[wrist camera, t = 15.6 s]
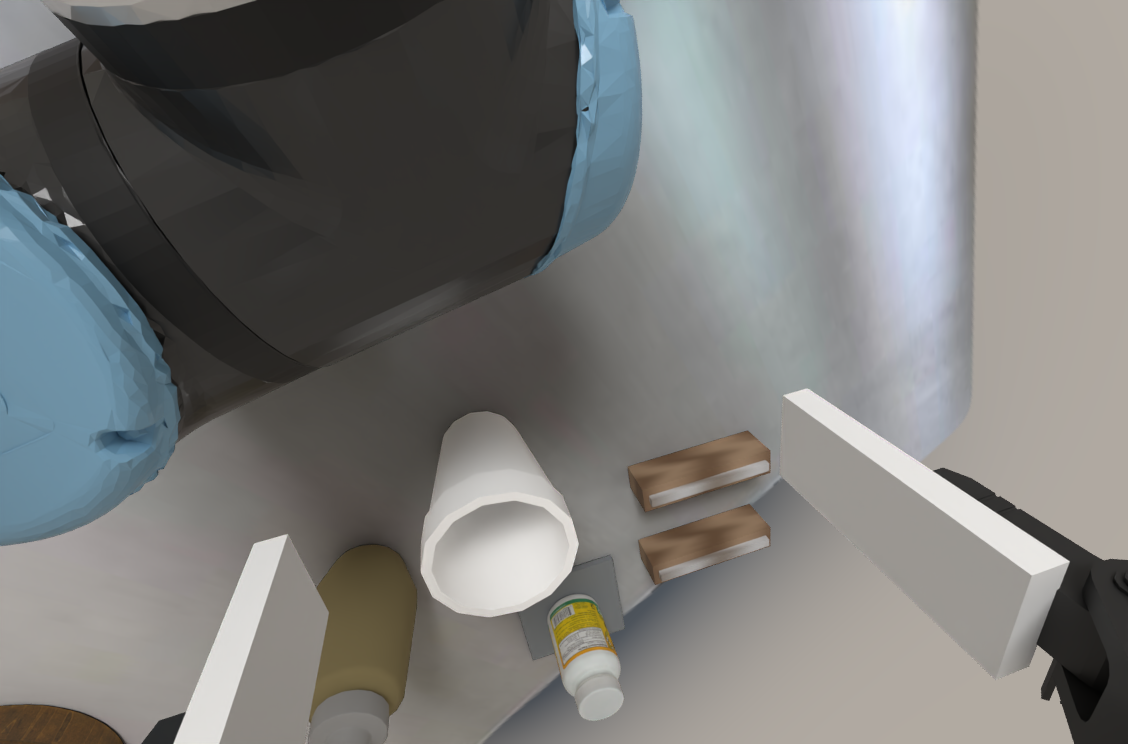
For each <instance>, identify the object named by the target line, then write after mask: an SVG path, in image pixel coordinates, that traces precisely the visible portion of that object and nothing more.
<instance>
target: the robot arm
mask: <svg viewBox="0 0 1128 744" xmlns="http://www.w3.org/2000/svg"><path fill="white" fill-rule="evenodd" d="M41 1H42V3H43V4H44V5H45V6H46V7H47V8H48V9H49V10H50V11H51V12H52V13H53V14H54V15H55V16H56V17H57V18H58V19H59V20H60V21H61V22H62V23H63V24H64V25H65V26H66V27H67V28H68V29H69V30H70V31H71V32H72V33H73V34H74V35H75V36H76V37H77V38H74V39H72V40H69V41H67V42H65V43H62V44H60V45H58V46H55V47H53V48H51V49H47V50H45V51H42V52H40V53H38V54H35V55H33V56H31V57H28V58H26V59H23V60H21V61H19V62H16V63H14V64H11V65H9V66H7V67H4V68H2V69H0V546H6V545H14V544H21V543H27V542H32V541H38V540H42V539H46V538H50V537H54V536H57V535H61V534H63V533H66V532H69V531H72V530H75V529H77V528H79V527H82V526H84V525H86V524H89V523H91V522H92V521H94V520H96V519H98V518H99V517H101V516H103V515H105V514H106V513H108V512H109V511H111V510H112V509H113V508H115V507H116V506H117V505H119V504H120V503H121V502H122V501H123V500H125V499H126V498H127V497H128V496H129V495H131V494H134V493H136V492H138V491H139V490H140V489H141V488H142V486H143V485H144V484H145V483H147V482H149V481H152V480H154V479H155V478H156V477H157V475H158V470H160V469H164V467H165V465H166V463H167V461H168V460H169V458H170V456H171V455H172V453H173V452H174V449H175V444H176V443H177V442H178V441H180V440H181V439H182V438H184V437H185V436H187V435H188V434H189V433H191V432H192V431H194V430H195V429H197V428H199V427H200V426H202V425H204V424H205V423H207V422H209V421H211V420H213V419H215V418H217V417H219V416H221V415H223V414H225V413H227V412H229V411H232V410H234V409H236V408H238V407H240V406H242V405H244V404H246V403H248V402H250V401H253V400H255V399H257V398H259V397H261V396H263V395H265V394H267V393H269V392H271V391H273V390H275V389H277V388H279V387H281V386H284V385H286V384H288V383H290V382H292V381H294V380H296V379H298V378H300V377H302V376H304V375H306V374H308V373H311V372H313V371H315V370H317V369H319V368H321V367H325V366H330V365H332V364H334V363H336V362H339V361H341V360H343V359H345V358H347V357H350V356H352V355H354V354H356V353H359V352H361V351H363V350H365V349H367V348H370V347H372V346H374V345H376V344H378V343H381V342H383V341H385V340H387V339H389V338H392V337H394V336H396V335H398V334H401V333H403V332H405V331H407V330H409V329H412V328H414V327H416V326H418V325H420V324H423V323H425V322H427V321H429V320H431V319H434V318H436V317H438V316H440V315H443V314H445V313H447V312H449V311H451V310H454V309H456V308H458V307H460V306H462V305H465V304H467V303H469V302H471V301H473V300H476V299H478V298H480V297H482V296H484V295H487V294H489V293H491V292H493V291H496V290H498V289H500V288H502V287H504V286H507V285H509V284H511V283H513V282H515V281H518V280H520V279H522V278H526V277H528V276H531V275H535V274H537V273H539V272H541V271H543V270H544V269H546V268H547V267H548V266H549V265H550V264H551V263H552V262H553V261H554V260H555V259H556V258H558V257H560V256H561V255H563V254H565V253H567V252H569V251H570V250H572V249H574V248H576V247H578V246H579V245H581V244H583V243H585V242H587V241H588V240H590V239H592V238H594V237H596V236H597V235H598V234H600V233H601V232H602V231H604V230H605V229H606V228H607V227H608V226H609V225H610V224H611V223H612V222H613V221H614V219H615V218H616V217H617V215H618V214H619V213H620V211H621V209H622V208H623V206H624V204H625V202H626V200H627V197H628V195H629V193H630V190H631V187H632V184H633V181H634V177H635V173H636V169H637V163H638V157H639V151H640V142H641V129H642V84H641V70H640V60H639V52H638V44H637V38H636V31H635V25H634V20H633V16H631V15H629V14H627V13H625V12H624V10H623V8H622V6H621V4H620V0H41ZM780 476H781V477H782V478H784V479H785V480H786V481H787V482H788V483H789V484H790V485H791V486H792V487H793V488H794V489H795V490H796V491H797V492H798V493H800V495H802V497H804V498H805V499H806V500H807V501H808V502H809V503H810V504H811V505H812V506H813V507H814V508H815V509H816V510H817V511H819V513H820V514H821V515H822V516H824V517H825V518H826V519H827V520H828V521H829V522H830V523H831V524H832V525H833V526H834V527H835V528H836V529H837V530H838V531H839V532H840V533H841V534H843V535H844V536H845V537H846V538H847V539H848V540H849V541H850V542H851V543H852V544H853V545H854V546H855V547H856V548H857V549H858V550H859V551H860V552H861V553H862V554H864V555H865V556H866V557H867V558H868V559H869V560H870V561H871V562H872V563H873V564H874V565H875V566H876V567H877V568H878V569H879V570H880V571H881V572H883V573H884V574H885V575H886V576H887V577H888V578H889V579H890V580H891V581H892V582H893V583H894V584H895V585H896V586H897V587H898V588H899V589H900V590H901V591H903V592H904V593H905V594H906V595H907V596H908V597H909V598H910V599H911V600H912V601H913V602H914V603H915V604H916V605H917V606H918V607H919V608H920V609H921V610H922V611H923V612H925V613H926V614H927V615H928V616H929V617H930V618H931V619H932V620H933V621H934V622H935V623H936V624H937V625H938V626H939V627H940V628H941V629H942V630H943V631H945V632H946V633H947V634H948V635H949V636H950V637H951V638H952V639H953V640H954V641H955V642H956V643H957V644H958V645H959V646H961V648H962V649H963V650H964V651H966V652H967V653H968V654H969V655H970V656H971V657H972V658H973V659H974V660H975V661H976V662H977V663H978V664H979V665H980V666H981V667H982V668H983V669H984V670H986V671H987V672H988V673H989V674H990V675H991V676H992V677H993V678H994V679H995V680H996V679H999V678H1001V677H1004V676H1006V675H1009V674H1011V673H1014V672H1016V671H1019V670H1021V669H1024V668H1026V667H1029V665H1030V663H1031V660H1032V657H1033V655H1034V652H1035V650H1036V647H1037V645H1038V646H1040V647H1041V648H1042V649H1043V650H1044V651H1046V652H1047V653H1048V654H1049V655H1050V656H1052V657H1053V658H1054V659H1053V661H1052V664H1051V666H1050V668H1049V671H1048V673H1047V676H1046V678H1045V680H1044V683H1043V685H1042V687H1041V698H1042V699H1044V700H1048V701H1049V700H1050V698H1051V695H1052V693H1053V691H1054V689H1055V686H1056V687H1057V691H1058V693H1059V697H1060V700H1061V701H1060V704H1062V706H1063V709H1064V713H1065V716H1066V719H1067V722H1068V725H1069V729H1070V731H1071V734H1072V738H1073V741H1074V744H1128V560H1117V559H1109V560H1105V561H1104V560H1102V559H1100V558H1098V557H1096V556H1095V555H1093V554H1091V553H1090V552H1088V551H1087V550H1085V549H1083V548H1082V547H1080V546H1079V545H1077V544H1075V543H1074V542H1072V541H1071V540H1069V539H1067V538H1066V537H1064V536H1063V535H1061V534H1059V533H1058V532H1056V531H1054V530H1053V529H1051V528H1050V527H1048V526H1047V525H1045V524H1043V523H1042V522H1040V521H1039V520H1037V519H1035V518H1034V517H1032V516H1031V515H1029V514H1027V513H1026V512H1024V511H1022V510H1021V509H1016V508H1015V506H1014V505H1013V504H1012V503H1010V502H1008V501H1007V500H1005V499H1003V498H1002V497H997V496H996V495H995V493H994V492H992V491H991V490H989V489H988V488H986V487H984V486H983V485H981V484H980V483H978V482H976V481H975V480H973V479H972V478H969V477H966V476H964V475H961V474H959V473H956V472H953V471H951V470H948V469H945V468H940V469H937V470H934V471H932V470H930V469H929V468H927V467H926V466H924V465H923V464H921V463H920V462H918V461H917V460H915V459H914V458H912V457H911V456H909V455H908V454H906V453H905V452H903V451H901V450H900V449H898V448H897V447H895V446H894V445H892V444H891V443H889V442H888V441H886V440H885V439H883V438H882V437H880V436H879V435H877V434H876V433H874V432H873V431H871V430H870V429H868V428H867V427H865V426H864V425H862V424H861V423H859V422H858V421H856V420H855V419H853V418H851V417H850V416H848V415H847V414H845V413H844V412H842V411H841V410H839V409H838V408H836V407H835V406H833V405H832V404H830V403H829V402H827V401H826V400H824V399H823V398H821V397H820V396H818V395H817V394H815V393H814V392H812V391H811V390H809V389H804V390H800V391H797V392H793V393H790V394H786V395H783V405H782V430H781V455H780ZM328 615H329V612H328V610H327V608H326V606H325V604H324V602H323V600H322V598H321V596H320V595H319V593H318V591H317V589H316V587H315V585H314V583H313V581H312V579H311V577H310V575H309V573H308V572H307V570H306V568H305V566H304V564H303V562H302V560H301V558H300V556H299V554H298V552H297V551H296V549H295V547H294V545H293V543H292V541H291V539H290V537H289V535H288V534H286V535H282V536H279V537H275V538H272V539H268V540H265V541H261V542H257V543H254V545H253V547H252V550H251V552H250V555H249V557H248V560H247V562H246V565H245V567H244V569H243V572H242V574H241V577H240V579H239V582H238V584H237V587H236V589H235V592H234V594H233V597H232V599H231V602H230V604H229V607H228V609H227V612H226V614H225V617H224V619H223V622H222V624H221V627H220V629H219V632H218V634H217V637H216V639H215V642H214V644H213V647H212V649H211V652H210V654H209V656H208V659H207V661H206V664H205V666H204V669H203V671H202V674H201V676H200V679H199V681H198V684H197V686H196V689H195V691H194V694H193V696H192V699H191V701H190V704H189V706H188V709H187V711H186V712H185V713H181V714H178V715H175V716H172V717H169V718H166V719H163V720H160V721H159V722H158V723H157V724H156V725H155V727H154V728H153V729H152V731H151V732H150V733H149V735H148V736H147V737H146V738H145V740H144V741H143V742H142V744H304V743H305V738H306V732H307V727H308V722H309V716H310V711H311V706H312V700H313V695H314V690H315V684H316V679H317V674H318V668H319V663H320V658H321V652H322V647H323V642H324V636H325V631H326V626H327V621H328Z"/></svg>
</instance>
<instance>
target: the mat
mask: <svg viewBox="0 0 1128 744" xmlns="http://www.w3.org/2000/svg"><path fill="white" fill-rule="evenodd" d="M573 594H584V595H587V596H590V597H592V598H593V599H594V600H595V602H596V603H597V604H598V606H599V609H600V611H601V614H602V616H603V619H604V622H605V624H606V627H607V630H608V632H609V634H611V633H613V632H617V631H620V630H622V629H625V626H624V621H623V615H622V610H621V604H620V598H619V593H618V587H617V582H616V576H615V571H614V565H613V560H612V557H611V555H609V556H606V557H602V558H599V559H596V560H593V561H590V562H587V563H584V564H581V565H578V566H575V567H572V571H571V572H570V573H569V574H568V576H567V577H566V578H565V579H564V580H563V581H562V583H561V584H560V585H559V586H558V587H557V588H556V590H555V591H554V592H553V593H552V594H551V595H549V596H548V597H546V598H544V599H542V600H541V601H539V602H537V603H535V604H534V605H532V606H530V607H528V608H526V609H525V610H523V611H519V612H518V613H519V616H520V620H521V623H522V626H523V629H524V633H525V636H526V639H527V642H528V646H529V649H530V652H531V655H532V659H533V660H536V659H539V658H542V657H545V656H548V655H550V654H553V653H555V651H554V647H553V643H552V639H551V635H550V631H549V628H548V623H547V618H548V614H549V611H550V610H551V608H552V607H553V605H554V604H555V603H556V602H558V601H559V600H560V599H562V598H564V597H566V596H569V595H573Z"/></svg>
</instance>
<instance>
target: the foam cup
mask: <svg viewBox="0 0 1128 744" xmlns="http://www.w3.org/2000/svg"><path fill="white" fill-rule="evenodd" d="M578 546H579V543H578V539H577V536H576V532H575V529H574V525H573V522H572V518H571V516H570V513H569V511H568V508H567V506H566V503H565V501H564V498H563V495H562V494H560V493H559V492H558V491H557V490H556V489H555V488H554V487H553V485H552V484H551V482H550V481H549V479H548V478H547V476H546V474H545V473H544V471H543V470H542V468H541V467H540V465H539V463H538V462H537V460H536V459H535V457H534V456H533V454H532V452H531V451H530V449H529V448H528V446H527V445H526V443H525V441H524V440H523V438H522V437H521V435H520V433H519V432H518V430H517V429H516V428H515V426H514V425H513V424H512V423H511V422H509V421H508V420H507V419H506V418H505V417H504V416H502V415H499V414H495V413H492V412H489V411H483V412H474V413H469V414H467V415H465V416H463V417H461V418H460V419H458V420H456V421H454V422H453V423H452V425H451V426H450V427H449V429H448V430H447V431H446V433H445V434H444V436H443V440H442V446H441V451H440V456H439V462H438V467H437V472H436V478H435V483H434V488H433V494H432V499H431V504H430V510H429V512H428V513H427V514H426V516H425V519H424V526H423V533H422V539H421V574H422V576H423V578H424V580H425V582H426V585H427V587H428V589H429V591H430V593H431V595H432V597H433V598H435V599H436V600H438V601H440V602H441V603H443V604H444V605H446V606H447V607H449V608H451V609H452V610H454V611H455V612H457V613H462V614H469V615H476V616H483V617H494V616H499V615H504V614H509V613H514V612H519V611H523V610H525V609H526V608H528V607H530V606H532V605H534V604H535V603H537V602H539V601H541V600H542V599H544V598H546V597H548V596H549V595H551V594H552V593H553V592H554V591H555V590H556V588H557V587H558V586H559V585H560V584H561V583H562V581H563V580H564V579H565V578H566V577H567V576H568V574H569V573H570V572H571V571H572V567H573V564H574V560H575V556H576V553H577V549H578Z"/></svg>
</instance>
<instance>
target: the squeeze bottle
mask: <svg viewBox="0 0 1128 744" xmlns="http://www.w3.org/2000/svg"><path fill="white" fill-rule="evenodd" d="M316 589H317V591H318V593H319V595H320V596H321V598H322V600H323V602H324V604H325V606H326V608H327V610H328V612H329V615H328V621H327V626H326V631H325V636H324V642H323V647H322V652H321V658H320V663H319V668H318V674H317V679H316V684H315V690H314V695H313V700H312V706H311V711H310V716H309V722H310V723H311V726H310V731H309V736H308V744H383V743H384V742H385V740H386V738H387V736H388V724H389V716H390V715H391V714H393V713H394V712H395V711H396V710H397V709H398V707H399V705H400V704H401V702H402V700H403V698H404V694H405V687H406V680H407V672H408V665H409V658H410V651H411V644H412V637H413V630H414V623H415V616H416V609H417V589H416V587H415V585H414V583H413V581H412V578H411V576H410V574H409V572H408V570H407V568H406V566H405V563H404V562H403V560H402V558H401V557H400V555H399V554H398V553H396V552H395V551H393V550H392V549H390V548H389V547H384V546H380V545H376V544H375V545H362V546H359V547H356V548H353V549H351V550H348V551H347V552H346V553H344V554H343V555H342V556H341V557H340V558H339V559H337V561H336V562H335V563H334V565H333V566H332V567H331V569H330V570H329V571H328V573H327V574H326V575H325V577H324V578H323V579H322V581H321V582H320V584H319V585H318V586H317V588H316Z"/></svg>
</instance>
